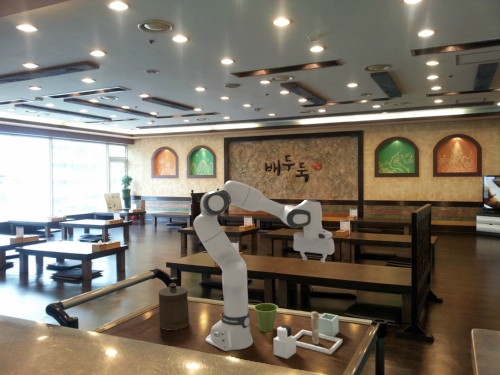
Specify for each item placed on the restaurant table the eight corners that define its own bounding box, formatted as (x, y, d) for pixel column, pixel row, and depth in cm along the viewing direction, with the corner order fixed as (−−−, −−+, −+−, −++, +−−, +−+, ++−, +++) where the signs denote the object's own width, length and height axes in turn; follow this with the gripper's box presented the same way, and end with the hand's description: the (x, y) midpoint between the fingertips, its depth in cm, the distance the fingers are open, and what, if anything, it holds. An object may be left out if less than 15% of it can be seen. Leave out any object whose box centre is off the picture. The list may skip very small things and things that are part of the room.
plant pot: (276, 335, 198) (276, 312, 197) (252, 333, 200) (251, 311, 200) (280, 325, 210) (279, 303, 209) (257, 323, 212) (256, 302, 211)
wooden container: (192, 319, 221) (190, 278, 219) (185, 331, 206) (182, 288, 204) (164, 319, 222) (162, 279, 221) (156, 331, 208) (153, 288, 206)
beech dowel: (311, 343, 186) (310, 313, 185) (314, 341, 189) (313, 311, 188) (317, 345, 185) (316, 314, 184) (320, 342, 187) (319, 312, 186)
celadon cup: (318, 336, 195) (318, 317, 194) (324, 330, 201) (324, 312, 200) (332, 339, 191) (332, 320, 190) (338, 334, 197) (338, 315, 196)
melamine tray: (289, 345, 187) (289, 340, 187) (302, 334, 198) (302, 329, 198) (330, 356, 176) (330, 350, 176) (342, 344, 186) (342, 339, 186)
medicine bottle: (282, 348, 185) (282, 322, 184) (296, 352, 180) (295, 326, 179) (273, 354, 179) (272, 327, 178) (287, 359, 175) (286, 331, 174)
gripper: (290, 232, 201) (291, 260, 203) (330, 236, 190) (330, 265, 191) (296, 230, 207) (297, 257, 208) (335, 233, 195) (336, 262, 196)
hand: (313, 261), depth 199 cm, fingers open, 8 cm apart
